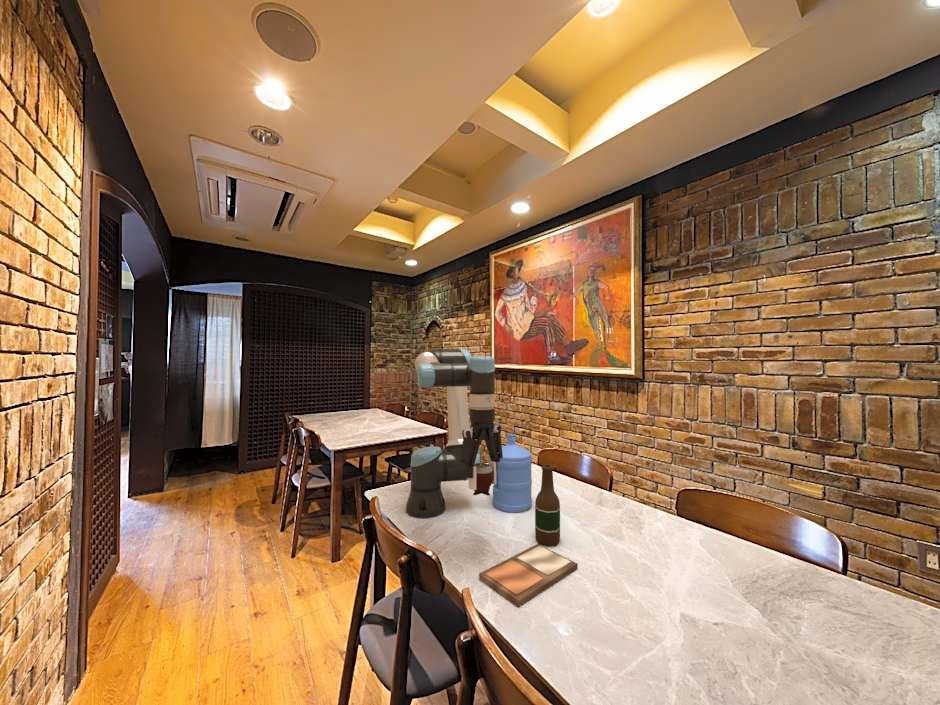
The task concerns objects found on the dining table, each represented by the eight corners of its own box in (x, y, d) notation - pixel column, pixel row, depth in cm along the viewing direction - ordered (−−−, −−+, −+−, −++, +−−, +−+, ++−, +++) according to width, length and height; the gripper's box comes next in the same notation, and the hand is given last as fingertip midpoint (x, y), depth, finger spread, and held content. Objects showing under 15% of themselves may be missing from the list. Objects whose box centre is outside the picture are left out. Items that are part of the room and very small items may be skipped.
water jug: (537, 502, 146) (537, 433, 146) (521, 516, 132) (521, 440, 133) (503, 494, 154) (503, 429, 155) (485, 507, 141) (485, 435, 141)
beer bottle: (560, 548, 110) (560, 470, 111) (534, 545, 112) (534, 468, 112) (559, 536, 118) (559, 462, 118) (535, 534, 119) (535, 461, 120)
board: (479, 579, 95) (479, 572, 95) (537, 548, 110) (537, 542, 110) (518, 607, 84) (518, 599, 84) (577, 569, 100) (577, 562, 100)
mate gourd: (481, 487, 112) (481, 438, 112) (500, 493, 106) (500, 442, 106) (463, 492, 106) (463, 441, 107) (482, 500, 101) (482, 446, 101)
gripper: (463, 412, 98) (463, 497, 97) (514, 406, 111) (515, 482, 110) (447, 409, 104) (447, 490, 103) (497, 404, 116) (498, 476, 116)
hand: (482, 485), depth 106 cm, fingers closed on mate gourd, 7 cm apart
